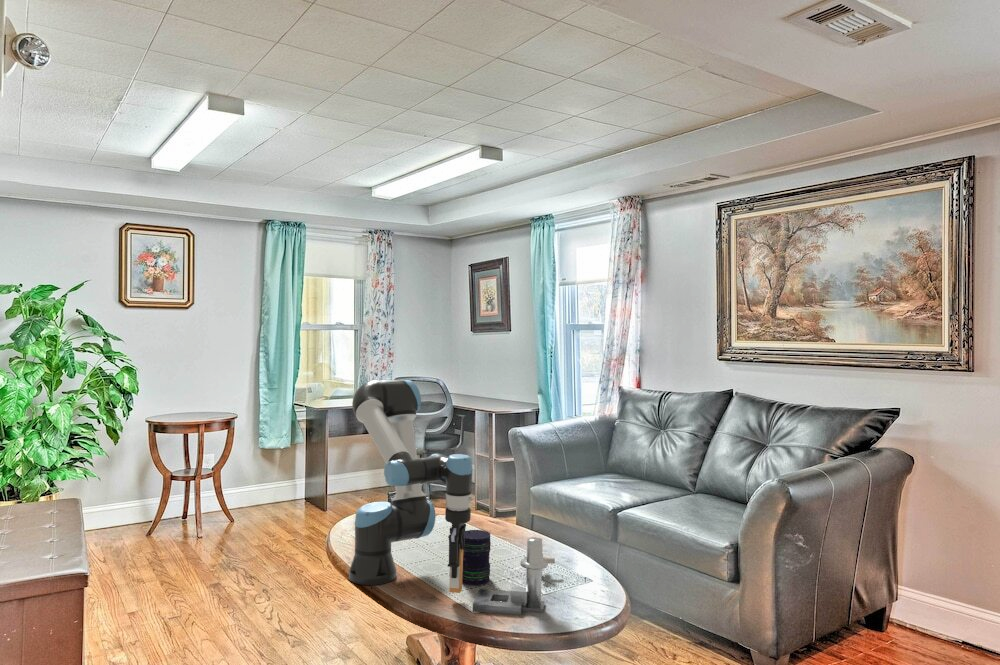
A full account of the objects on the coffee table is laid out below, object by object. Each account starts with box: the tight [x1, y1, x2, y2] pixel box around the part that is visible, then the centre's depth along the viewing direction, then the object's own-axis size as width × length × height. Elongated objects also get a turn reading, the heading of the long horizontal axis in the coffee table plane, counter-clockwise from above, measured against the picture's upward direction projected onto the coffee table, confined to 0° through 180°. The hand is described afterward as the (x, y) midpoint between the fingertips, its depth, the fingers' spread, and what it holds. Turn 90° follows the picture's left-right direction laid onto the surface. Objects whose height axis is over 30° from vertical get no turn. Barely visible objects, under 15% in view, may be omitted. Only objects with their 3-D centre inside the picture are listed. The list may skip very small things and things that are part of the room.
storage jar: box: [462, 529, 492, 587], centre depth 225 cm, size 10×10×15 cm
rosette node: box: [472, 536, 549, 616], centre depth 205 cm, size 21×12×20 cm, turn 81°
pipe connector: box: [523, 544, 556, 565], centre depth 231 cm, size 10×10×10 cm
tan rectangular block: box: [448, 549, 463, 594], centre depth 208 cm, size 3×3×12 cm
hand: (455, 585), depth 209 cm, fingers closed on tan rectangular block, 3 cm apart
